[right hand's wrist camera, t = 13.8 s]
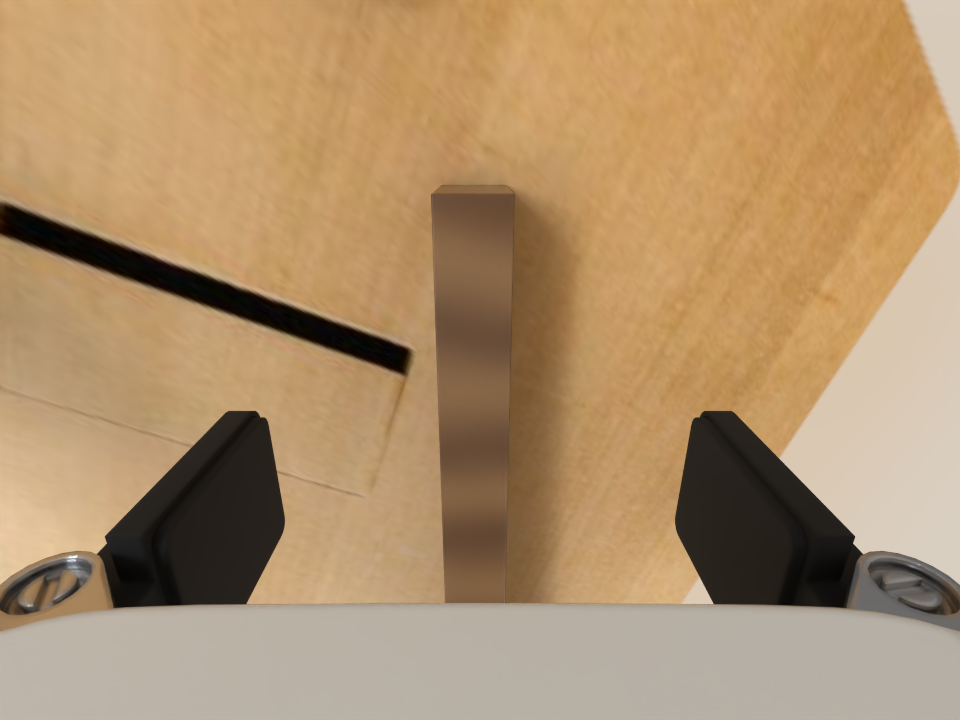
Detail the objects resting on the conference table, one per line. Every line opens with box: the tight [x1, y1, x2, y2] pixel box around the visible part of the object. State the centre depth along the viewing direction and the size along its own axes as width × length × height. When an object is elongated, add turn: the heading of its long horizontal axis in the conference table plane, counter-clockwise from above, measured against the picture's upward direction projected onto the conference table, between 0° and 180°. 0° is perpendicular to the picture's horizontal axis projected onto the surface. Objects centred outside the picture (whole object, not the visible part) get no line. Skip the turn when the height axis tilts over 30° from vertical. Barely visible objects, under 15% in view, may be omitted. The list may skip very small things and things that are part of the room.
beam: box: [431, 185, 515, 603], centre depth 45 cm, size 67×5×8 cm, turn 0°
